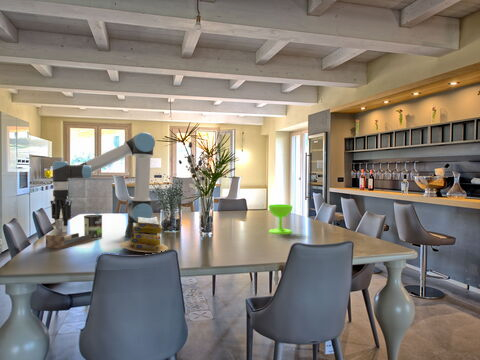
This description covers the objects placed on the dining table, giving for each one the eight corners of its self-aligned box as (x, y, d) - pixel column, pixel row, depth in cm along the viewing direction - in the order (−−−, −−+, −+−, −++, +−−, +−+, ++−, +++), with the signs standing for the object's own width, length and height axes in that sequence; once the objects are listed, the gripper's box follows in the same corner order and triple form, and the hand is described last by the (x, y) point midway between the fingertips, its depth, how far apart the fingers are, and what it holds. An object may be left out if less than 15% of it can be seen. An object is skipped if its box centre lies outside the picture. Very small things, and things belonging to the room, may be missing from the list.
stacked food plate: (171, 244, 195) (171, 215, 194) (163, 255, 170) (163, 221, 170) (127, 244, 194) (127, 215, 193) (113, 255, 169) (113, 221, 169)
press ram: (72, 241, 192) (72, 218, 191) (62, 244, 185) (61, 220, 185) (62, 240, 195) (62, 218, 194) (51, 243, 188) (51, 219, 188)
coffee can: (105, 237, 215) (105, 214, 215) (95, 240, 205) (95, 216, 204) (91, 236, 217) (90, 214, 217) (80, 239, 207) (80, 216, 206)
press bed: (92, 241, 202) (92, 230, 202) (61, 248, 183) (61, 236, 183) (76, 239, 207) (76, 228, 206) (45, 247, 187) (45, 235, 187)
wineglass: (294, 234, 224) (294, 207, 223) (269, 234, 224) (269, 206, 224) (290, 230, 240) (290, 204, 239) (267, 229, 240) (267, 204, 240)
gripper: (43, 189, 188) (44, 231, 189) (66, 190, 182) (67, 233, 183) (55, 188, 195) (56, 229, 196) (77, 189, 189) (78, 231, 190)
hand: (61, 231), depth 189 cm, fingers closed on press ram, 4 cm apart
